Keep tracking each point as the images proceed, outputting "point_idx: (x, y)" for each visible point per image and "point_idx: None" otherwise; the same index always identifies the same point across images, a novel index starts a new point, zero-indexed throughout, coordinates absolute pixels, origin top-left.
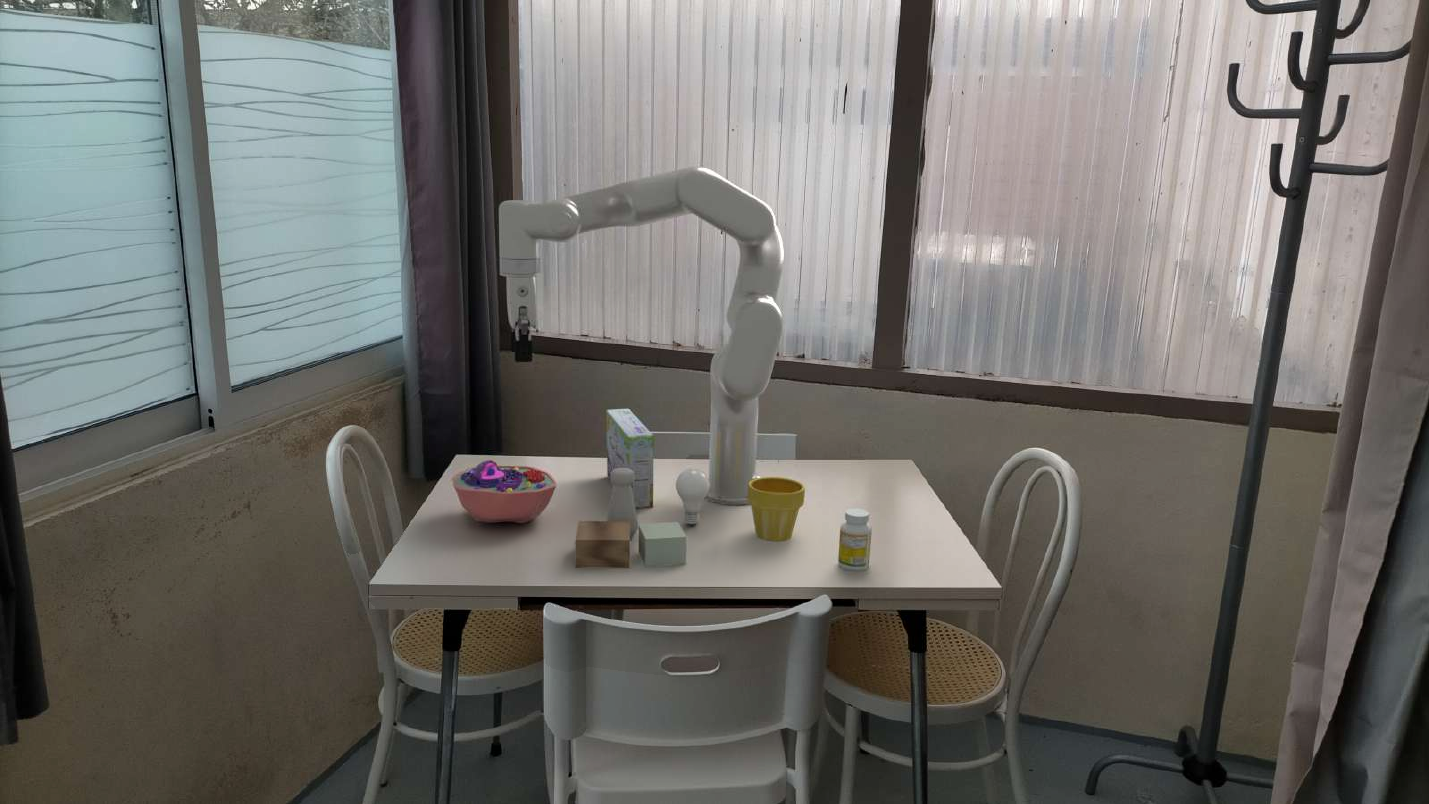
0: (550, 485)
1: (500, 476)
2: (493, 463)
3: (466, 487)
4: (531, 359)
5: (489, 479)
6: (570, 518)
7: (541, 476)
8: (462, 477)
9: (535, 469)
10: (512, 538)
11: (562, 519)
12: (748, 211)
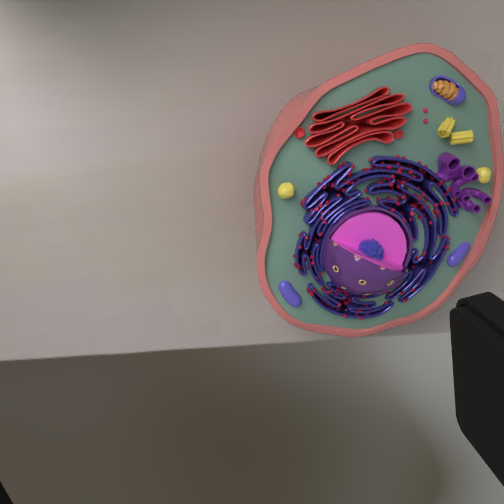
0: (437, 62)
1: (387, 219)
2: (357, 254)
3: (435, 286)
4: (497, 302)
5: (411, 243)
6: (334, 15)
7: (375, 99)
8: (368, 313)
9: (293, 130)
10: None
11: (341, 37)
12: None
